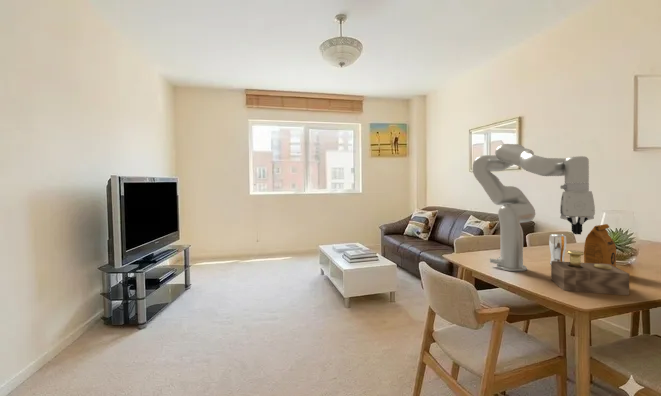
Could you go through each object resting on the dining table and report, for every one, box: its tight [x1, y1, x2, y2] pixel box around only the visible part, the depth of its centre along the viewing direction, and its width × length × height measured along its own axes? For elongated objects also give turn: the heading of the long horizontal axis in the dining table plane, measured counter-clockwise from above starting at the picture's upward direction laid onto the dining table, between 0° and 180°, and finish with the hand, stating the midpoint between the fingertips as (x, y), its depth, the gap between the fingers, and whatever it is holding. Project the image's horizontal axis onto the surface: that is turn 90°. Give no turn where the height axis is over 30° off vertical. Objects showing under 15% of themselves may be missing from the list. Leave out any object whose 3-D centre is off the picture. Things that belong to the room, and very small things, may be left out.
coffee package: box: [583, 223, 617, 268], centre depth 140 cm, size 10×12×22 cm
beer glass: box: [548, 233, 567, 265], centre depth 155 cm, size 7×7×15 cm
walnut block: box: [550, 260, 630, 296], centre depth 122 cm, size 20×14×9 cm
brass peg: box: [566, 249, 584, 268], centre depth 123 cm, size 5×5×8 cm
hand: (576, 233), depth 122 cm, fingers closed
